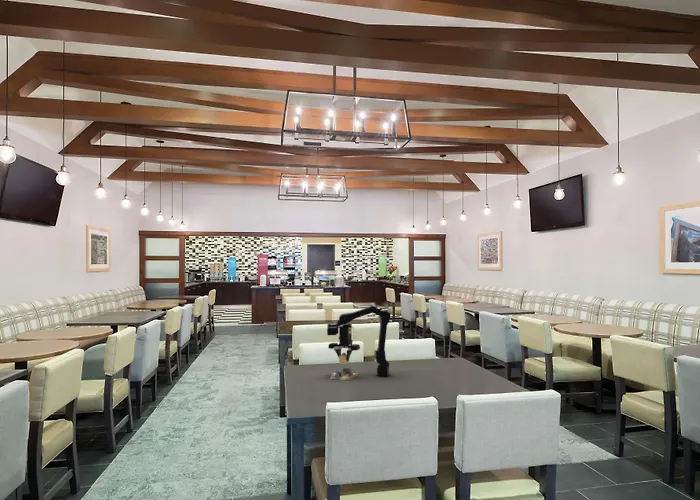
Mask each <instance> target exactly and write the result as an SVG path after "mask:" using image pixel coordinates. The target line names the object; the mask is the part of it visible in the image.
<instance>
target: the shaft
mask: <svg viewBox="0 0 700 500" xmlns="http://www.w3.org/2000/svg"><path fill="white" fill-rule="evenodd" d="M342 372H343V371H341V370H335V371H333V372H332V373H331V374H330V377H331V376H332V377H336V378H338V377H342Z"/></svg>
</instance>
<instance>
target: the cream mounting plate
mask: <svg viewBox="0 0 700 500" xmlns="http://www.w3.org/2000/svg"><path fill="white" fill-rule="evenodd" d="M352 371H353V369H352V367H350V366H349V367H343V368H342V371H341V372H342V377H338V378H336V377H332V376H331V375H330V376H329V379H330V380H331V379H332V380H339V381H340V380H341V381H350V380H352V379H353V378H355V377H357V376H358V372H352Z"/></svg>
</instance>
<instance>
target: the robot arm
mask: <svg viewBox="0 0 700 500" xmlns="http://www.w3.org/2000/svg"><path fill="white" fill-rule="evenodd" d="M372 313H373V314H375V315H376V316H378V318H379V333H378V342H377V348H376V349H374V352H373V353H374V355H373V357H374V360H375V361H376V363H377V364H378V365H377V368H376V377H381V378H388V377H389V376H391V374H390V362H388V360H387V357H386V350H385V348H386V347H385V346H386V339H387V329H388V325H389V322H390V318H391V314H390V312H389V311H388V310H385V309H379V308H378V307H376V306H374V305H369V306H367V307H364V308H362V309H359V310H355V311H353V312H346V313H341V314H339V317H338V320H337V321H336V323H327V328H326V336H337V335H338V334H339V336H338V340H339V341H338V342H339V343H338V342H331V343H329V344H328V346H327V347H328V349H329V350H333V351H335V354H336V355H337V357H338V358H339V355H342V350H343V349H347V350H346V355H347V361H349V362H350V357H351V354H352V353H353V351H359V350H361V345H360V344H358V343H353V339H351V337H350V334H349V333H350V330H349V329H350V328H353V326H352V325H351V324H350V323H351V322H352V321H353V320H355V319H358V318H361V317H363V316H367V315H369V314H372Z"/></svg>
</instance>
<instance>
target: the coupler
mask: <svg viewBox="0 0 700 500" xmlns="http://www.w3.org/2000/svg"><path fill="white" fill-rule="evenodd" d="M338 360H339V361H338V363H339V364H343V365H345V364H348V363H350V360H349V361H347V352H341V355H339V357H338Z"/></svg>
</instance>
